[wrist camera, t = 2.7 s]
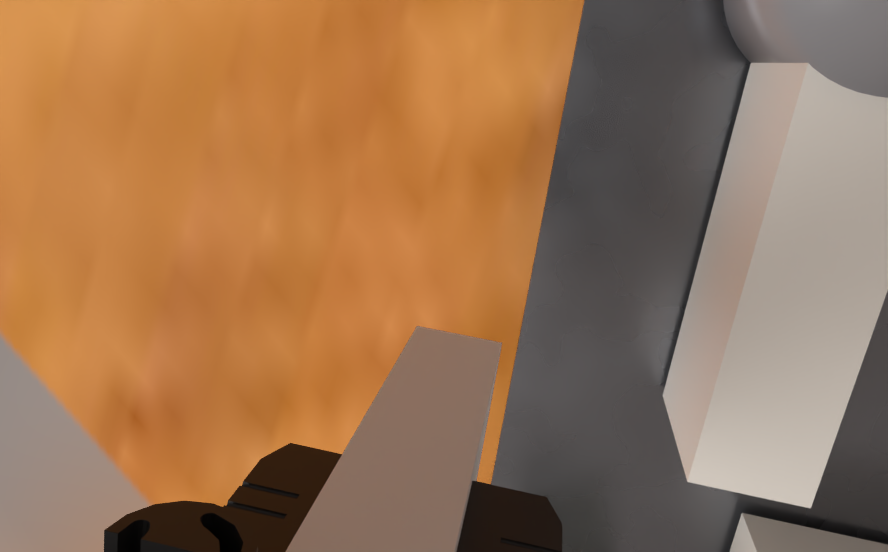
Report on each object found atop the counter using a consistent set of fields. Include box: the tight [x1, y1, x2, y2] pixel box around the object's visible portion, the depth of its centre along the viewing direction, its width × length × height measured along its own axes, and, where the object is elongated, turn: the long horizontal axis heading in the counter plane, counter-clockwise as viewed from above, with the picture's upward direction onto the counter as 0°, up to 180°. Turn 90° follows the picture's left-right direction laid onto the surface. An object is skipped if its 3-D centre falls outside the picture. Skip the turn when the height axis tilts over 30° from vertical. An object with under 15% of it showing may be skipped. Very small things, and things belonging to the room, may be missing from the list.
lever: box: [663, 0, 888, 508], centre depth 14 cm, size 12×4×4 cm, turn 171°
